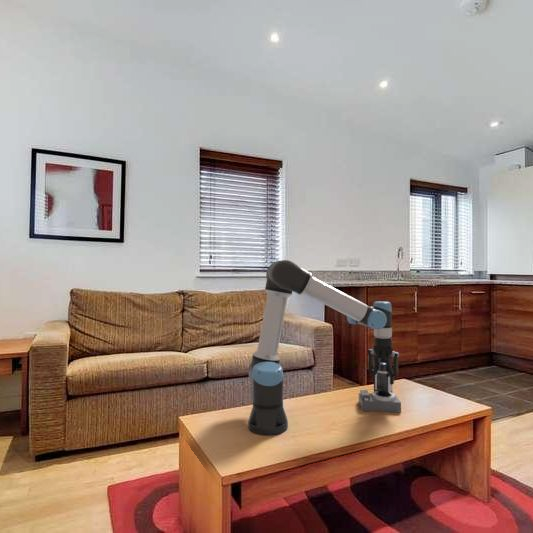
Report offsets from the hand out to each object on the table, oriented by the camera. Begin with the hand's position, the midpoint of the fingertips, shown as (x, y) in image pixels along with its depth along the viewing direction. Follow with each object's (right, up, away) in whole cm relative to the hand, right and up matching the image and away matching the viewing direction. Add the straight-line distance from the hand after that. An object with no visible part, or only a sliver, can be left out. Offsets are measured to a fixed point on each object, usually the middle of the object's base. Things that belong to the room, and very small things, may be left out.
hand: (383, 390), depth 164 cm
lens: (0, -3, 0) cm, 3 cm away
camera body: (-2, -7, 0) cm, 8 cm away
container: (+5, -8, +16) cm, 19 cm away
